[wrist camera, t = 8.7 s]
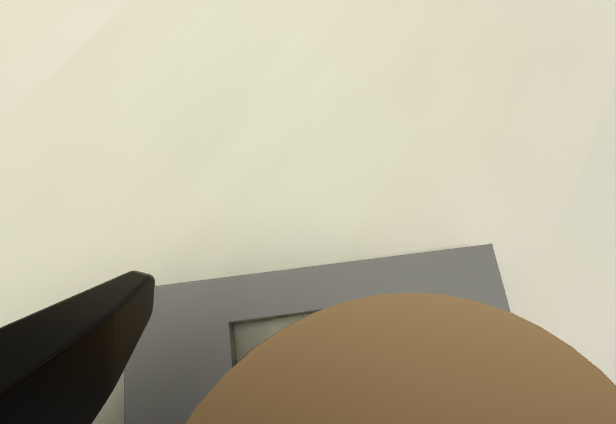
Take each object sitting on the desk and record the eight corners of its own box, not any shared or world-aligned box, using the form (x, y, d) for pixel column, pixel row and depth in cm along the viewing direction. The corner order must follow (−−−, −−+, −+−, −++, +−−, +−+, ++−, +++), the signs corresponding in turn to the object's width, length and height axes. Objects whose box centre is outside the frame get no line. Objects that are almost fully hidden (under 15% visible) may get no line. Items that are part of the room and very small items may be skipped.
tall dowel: (356, 424, 15) (867, 977, 2) (259, 440, 15) (109, 1250, 2) (341, 324, 16) (616, 262, 3) (249, 337, 16) (109, 330, 3)
